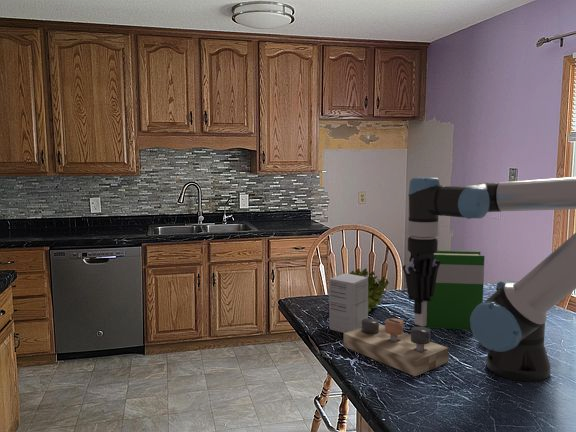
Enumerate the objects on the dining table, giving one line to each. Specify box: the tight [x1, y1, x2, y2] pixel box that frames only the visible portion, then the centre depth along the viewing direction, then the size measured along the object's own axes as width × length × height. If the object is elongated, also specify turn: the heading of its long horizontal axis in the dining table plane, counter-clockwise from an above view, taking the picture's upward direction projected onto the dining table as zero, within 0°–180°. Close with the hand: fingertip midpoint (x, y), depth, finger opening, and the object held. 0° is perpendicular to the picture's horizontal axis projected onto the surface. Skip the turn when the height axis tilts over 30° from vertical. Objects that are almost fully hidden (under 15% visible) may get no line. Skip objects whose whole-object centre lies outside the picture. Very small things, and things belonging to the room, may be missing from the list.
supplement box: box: [328, 272, 369, 334], centre depth 164 cm, size 10×9×17 cm
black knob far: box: [362, 318, 380, 334], centre depth 150 cm, size 5×5×7 cm
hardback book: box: [423, 249, 486, 331], centre depth 166 cm, size 18×7×24 cm, turn 80°
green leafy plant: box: [348, 267, 390, 313], centre depth 186 cm, size 18×16×16 cm
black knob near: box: [410, 326, 431, 353], centre depth 136 cm, size 5×5×7 cm
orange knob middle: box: [384, 317, 404, 343], centre depth 143 cm, size 5×5×7 cm
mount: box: [343, 323, 450, 377], centre depth 144 cm, size 26×14×4 cm, turn 38°
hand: (420, 324), depth 136 cm, fingers closed
